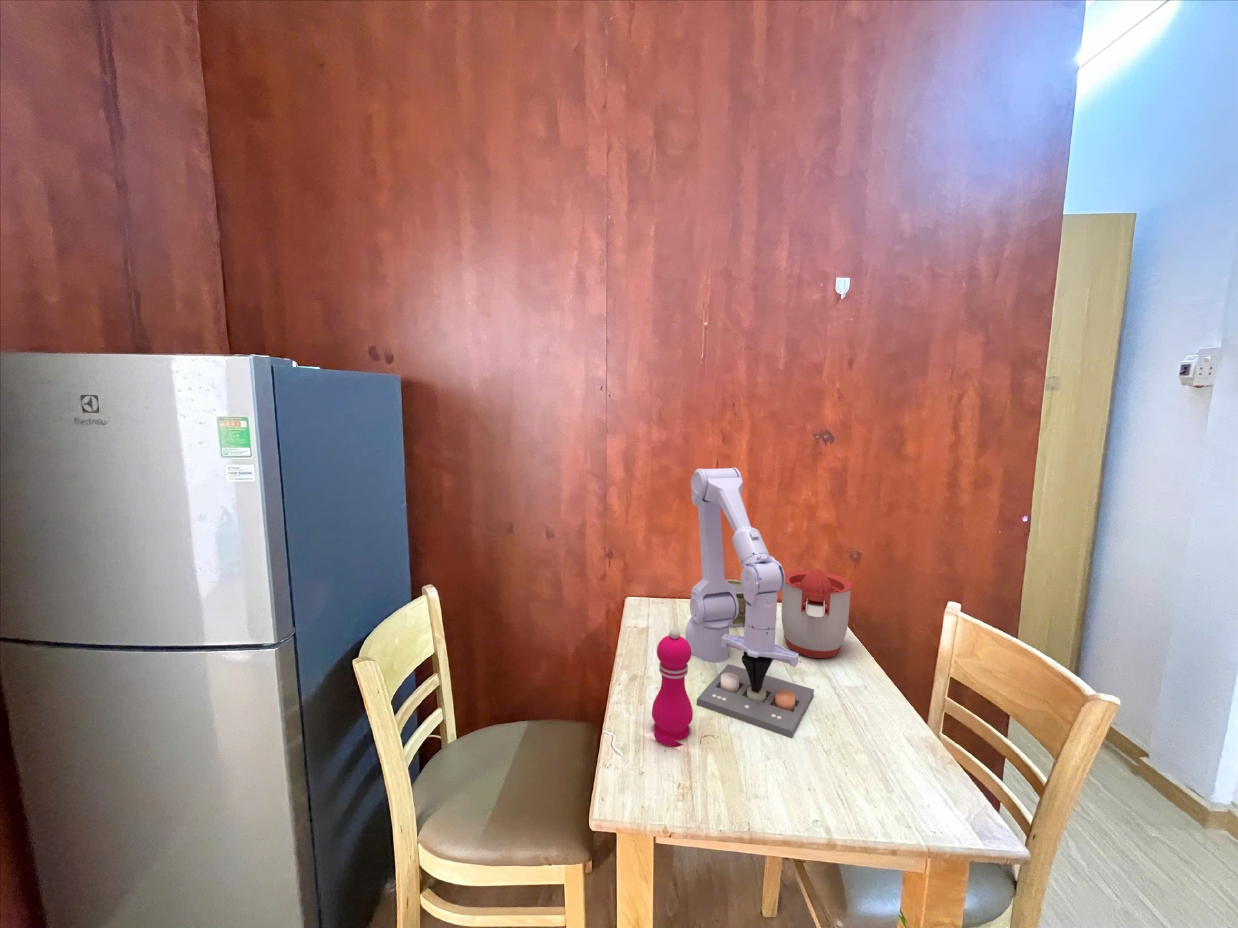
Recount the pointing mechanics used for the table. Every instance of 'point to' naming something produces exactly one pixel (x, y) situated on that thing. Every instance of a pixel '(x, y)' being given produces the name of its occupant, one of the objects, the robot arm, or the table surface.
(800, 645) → the citrus juicer
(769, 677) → the button panel
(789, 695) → the button terracotta
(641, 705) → the table surface
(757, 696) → the button green
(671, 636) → the pepper mill
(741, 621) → the ceramic cup
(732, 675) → the button white
